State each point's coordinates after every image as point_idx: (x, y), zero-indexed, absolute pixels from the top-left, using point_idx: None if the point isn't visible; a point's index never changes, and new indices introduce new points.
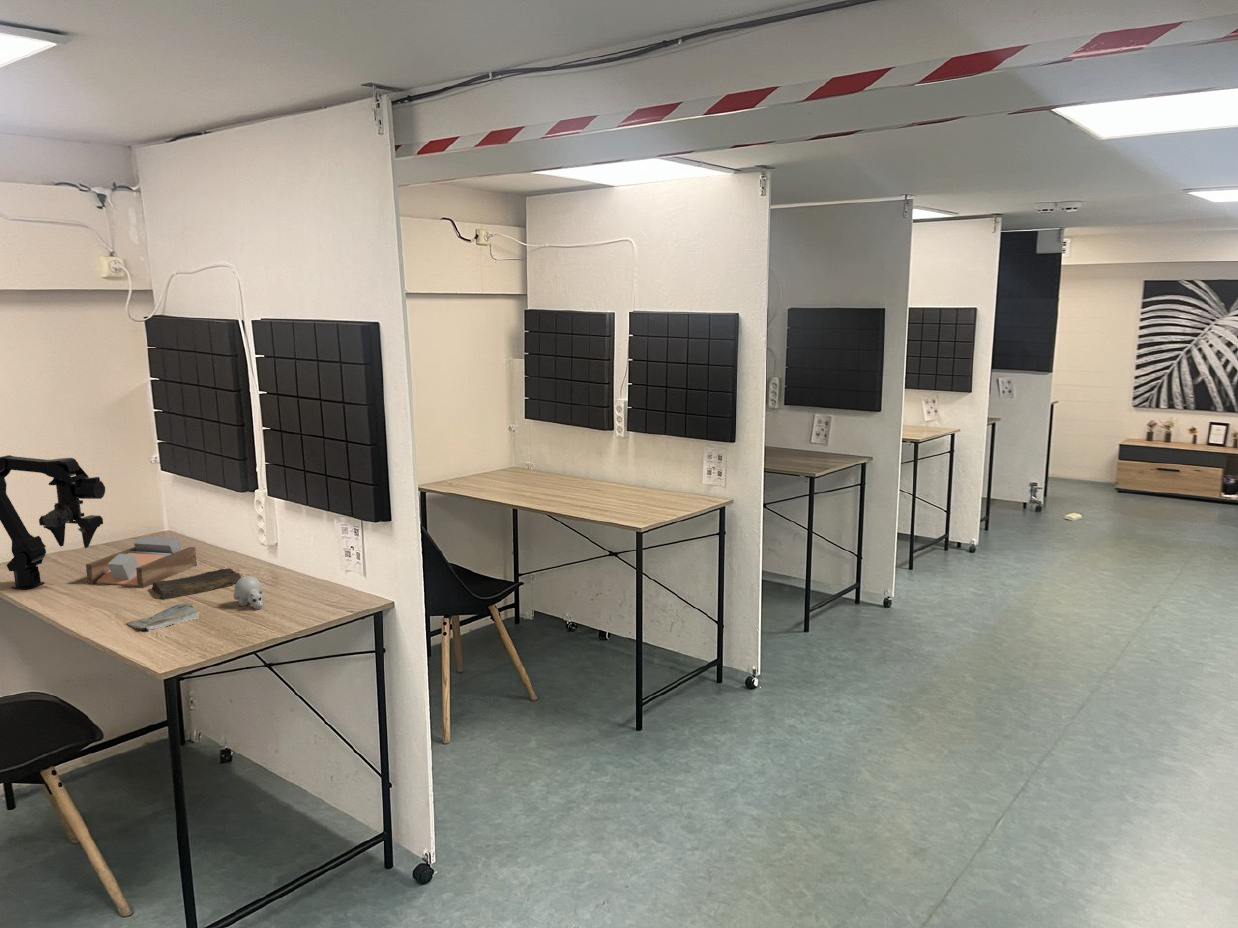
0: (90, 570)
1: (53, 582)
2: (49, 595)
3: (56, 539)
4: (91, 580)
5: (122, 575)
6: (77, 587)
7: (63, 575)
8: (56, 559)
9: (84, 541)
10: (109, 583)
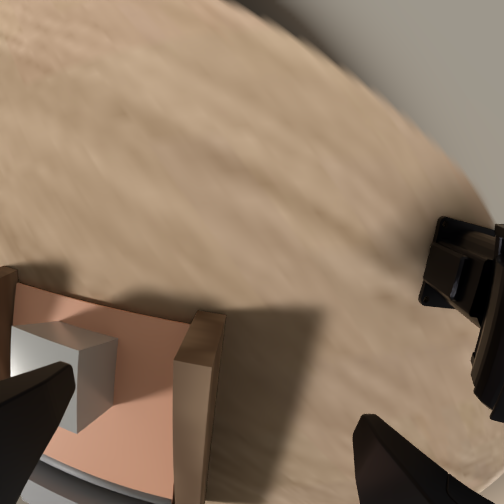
0: (191, 343)
1: (392, 320)
2: (289, 135)
3: (420, 455)
4: (201, 317)
5: (66, 327)
6: (237, 261)
7: (396, 396)
8: (461, 475)
9: (12, 384)
10: (128, 311)
